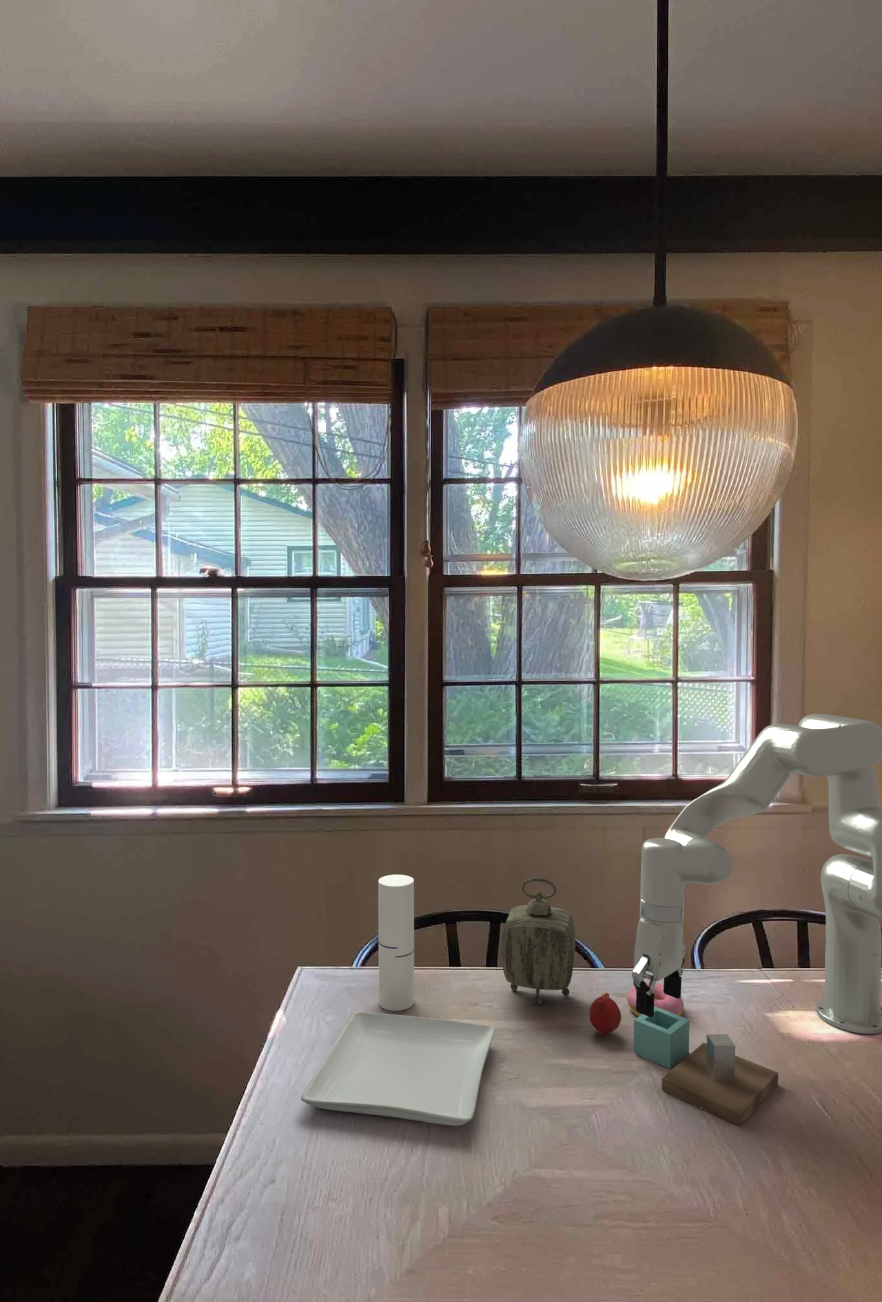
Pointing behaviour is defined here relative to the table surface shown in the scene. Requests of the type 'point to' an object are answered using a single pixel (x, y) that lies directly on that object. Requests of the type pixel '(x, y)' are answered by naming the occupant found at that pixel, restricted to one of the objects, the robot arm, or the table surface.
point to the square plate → (403, 1068)
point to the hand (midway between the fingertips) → (658, 1004)
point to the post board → (721, 1091)
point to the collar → (661, 1037)
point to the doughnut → (658, 1000)
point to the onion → (604, 1014)
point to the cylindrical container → (396, 942)
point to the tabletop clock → (538, 945)
